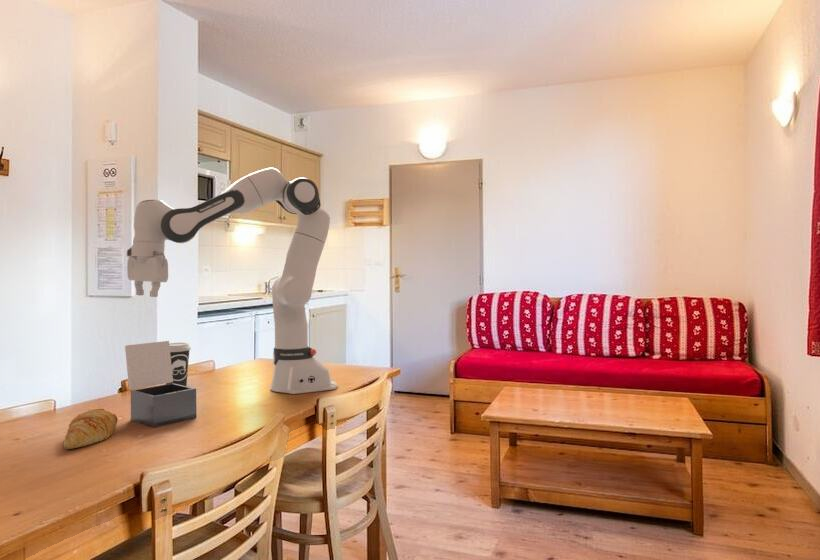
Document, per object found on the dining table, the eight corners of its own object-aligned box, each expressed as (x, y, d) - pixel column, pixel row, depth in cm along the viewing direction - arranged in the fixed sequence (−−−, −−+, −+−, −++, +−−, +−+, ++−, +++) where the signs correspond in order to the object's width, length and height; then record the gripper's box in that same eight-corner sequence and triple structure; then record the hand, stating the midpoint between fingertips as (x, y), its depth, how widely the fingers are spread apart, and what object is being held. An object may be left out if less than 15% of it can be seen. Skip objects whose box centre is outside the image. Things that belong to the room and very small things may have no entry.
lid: (130, 389, 143) (127, 389, 144) (173, 382, 153) (169, 382, 154) (126, 345, 144) (123, 346, 145) (168, 340, 154) (165, 341, 155)
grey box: (131, 419, 143) (130, 390, 143) (173, 410, 153) (172, 383, 153) (153, 427, 136) (153, 396, 136) (196, 417, 146) (196, 388, 146)
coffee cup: (196, 384, 189) (195, 342, 189) (182, 390, 180) (181, 346, 180) (170, 383, 190) (170, 342, 190) (155, 389, 181) (155, 345, 181)
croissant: (80, 467, 118) (97, 436, 118) (37, 448, 117) (55, 416, 117) (123, 436, 139) (137, 409, 139) (87, 419, 138) (101, 392, 138)
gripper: (174, 252, 160) (172, 297, 160) (144, 252, 173) (142, 294, 173) (153, 250, 155) (151, 297, 155) (124, 251, 168) (122, 294, 168)
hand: (146, 296), depth 164 cm, fingers open, 8 cm apart
